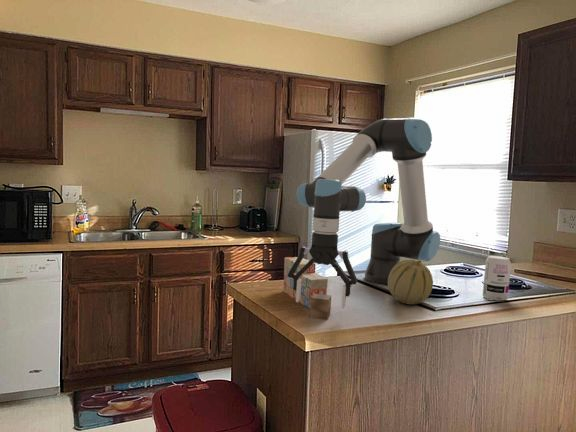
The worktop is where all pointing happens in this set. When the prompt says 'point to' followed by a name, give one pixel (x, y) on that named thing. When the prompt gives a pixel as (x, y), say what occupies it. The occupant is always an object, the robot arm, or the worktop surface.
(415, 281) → the cantaloupe
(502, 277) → the supplement can
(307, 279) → the stack of blocks
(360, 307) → the worktop surface
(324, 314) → the walnut block
